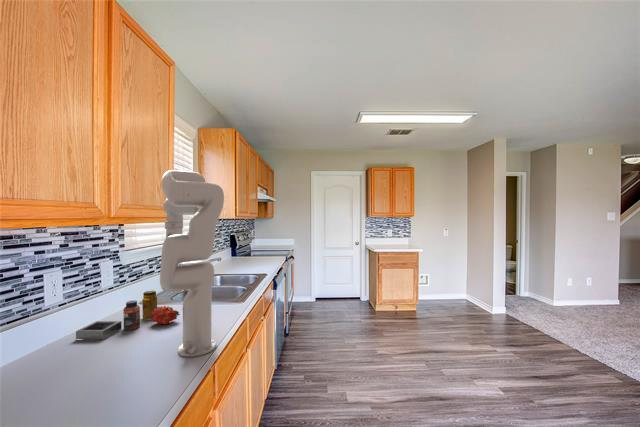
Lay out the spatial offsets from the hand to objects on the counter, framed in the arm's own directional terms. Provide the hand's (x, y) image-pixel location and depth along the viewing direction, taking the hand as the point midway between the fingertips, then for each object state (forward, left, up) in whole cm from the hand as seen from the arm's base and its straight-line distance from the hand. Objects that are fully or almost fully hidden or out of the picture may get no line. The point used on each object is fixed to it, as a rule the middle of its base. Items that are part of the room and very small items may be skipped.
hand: (174, 262), depth 134 cm
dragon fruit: (-5, +2, -27) cm, 27 cm away
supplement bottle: (-10, +13, -27) cm, 31 cm away
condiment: (+4, +13, -27) cm, 30 cm away
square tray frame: (-17, +22, -26) cm, 38 cm away
